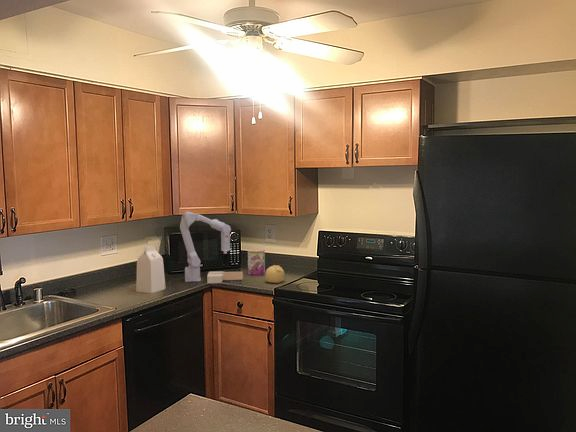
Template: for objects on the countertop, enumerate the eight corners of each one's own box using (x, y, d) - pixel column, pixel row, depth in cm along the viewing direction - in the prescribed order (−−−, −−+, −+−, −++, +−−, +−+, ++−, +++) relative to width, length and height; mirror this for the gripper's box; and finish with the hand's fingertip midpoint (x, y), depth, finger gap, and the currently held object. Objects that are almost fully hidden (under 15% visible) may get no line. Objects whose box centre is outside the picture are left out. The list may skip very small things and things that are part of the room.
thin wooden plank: (220, 280, 297) (220, 272, 297) (220, 279, 298) (220, 272, 298) (242, 279, 298) (242, 271, 298) (242, 279, 299) (242, 271, 299)
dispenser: (207, 283, 290) (207, 276, 290) (209, 278, 304) (208, 271, 303) (223, 283, 291) (222, 275, 290) (223, 278, 305) (223, 271, 304)
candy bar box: (247, 275, 313) (247, 251, 311) (248, 273, 318) (248, 249, 316) (264, 275, 312) (263, 251, 310) (265, 273, 317) (264, 249, 315)
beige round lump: (285, 283, 287) (285, 266, 286) (266, 284, 285) (265, 267, 284) (283, 279, 298) (283, 263, 297) (264, 280, 297) (264, 263, 296)
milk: (150, 286, 283) (148, 244, 281) (165, 288, 278) (164, 245, 276) (136, 291, 272) (134, 247, 270) (151, 293, 267) (149, 248, 265)
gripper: (231, 243, 300) (231, 264, 301) (232, 240, 314) (232, 260, 315) (220, 244, 299) (220, 264, 300) (221, 240, 314) (221, 260, 315)
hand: (226, 262), depth 308 cm, fingers open, 7 cm apart
